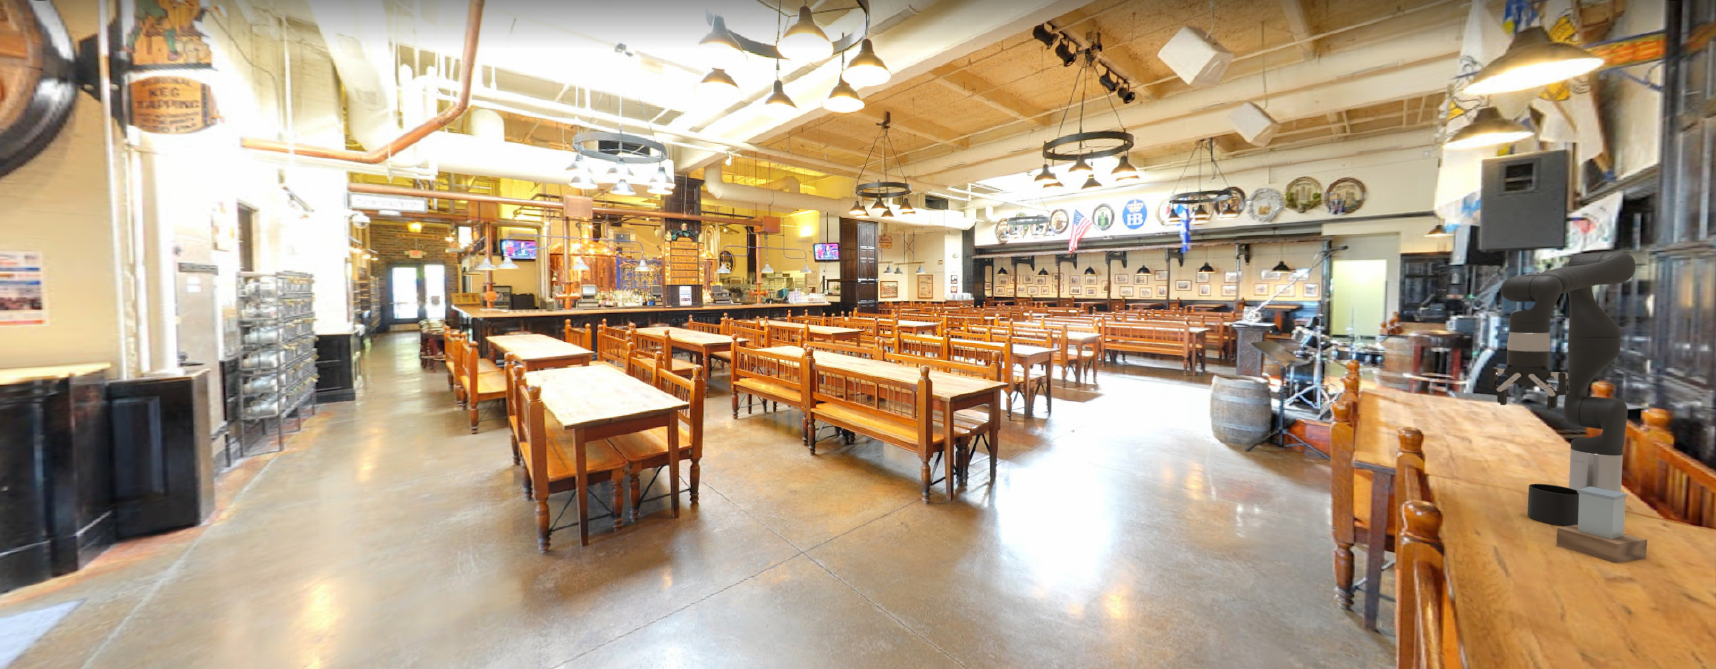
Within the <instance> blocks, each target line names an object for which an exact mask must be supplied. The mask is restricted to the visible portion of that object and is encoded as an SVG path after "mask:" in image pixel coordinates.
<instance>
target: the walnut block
mask: <svg viewBox="0 0 1716 669" xmlns="http://www.w3.org/2000/svg"><path fill="white" fill-rule="evenodd" d="M1647 545H1648V539H1646V538H1643V537H1639V536H1636V535H1632V534H1628V533H1624V536H1621V537H1618V538H1615V539H1608V538H1604V537H1600V536H1596V535H1592V534H1588V533H1584V532H1580V531H1578V525H1572V526H1561V527H1560V526H1558V527H1557V528H1556V546H1558V547H1561V548H1565V549H1567V550H1572V551H1574V552H1578V553H1580V554H1584V555H1586V556H1590V557H1593V558H1596V559H1600V560H1604V561H1607V562H1611V563H1614V564H1619V563H1624V562H1632V561H1638V560H1643V559H1647V548H1648V546H1647Z"/></svg>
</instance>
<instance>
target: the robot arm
mask: <svg viewBox="0 0 1716 669" xmlns="http://www.w3.org/2000/svg"><path fill="white" fill-rule="evenodd" d="M1635 271H1636V262H1635V258H1634V257H1633V256H1632V255H1631V254H1629V253H1626V252H1622V251H1621V252H1620V251H1608V252H1607V251H1606V252H1591V253H1587V252H1586V253H1577V254H1574V255H1572V256H1571V257H1570V259H1569V261H1568V262H1567V266H1563V267H1557V268H1553V269H1549V270H1546V271H1543V272H1538V273H1530V274H1522V275H1516V276H1512V277H1510V278H1508V279H1506V280H1505V281H1504V282H1502V285H1501V286H1500V294H1501V296H1502V297H1503V298H1504V299H1505V300H1507V301H1510V302H1516V303H1532V302H1533V303H1534V304H1533V306H1532V307H1531V308H1529V309H1525V310H1524V309H1523V310H1517V311H1514V312H1512V313H1511V314H1510V317H1509V334H1508V339H1507V344H1506V349H1507V350H1506V351H1507V352H1506V353H1507V354H1506V367H1505V368H1499V367H1496V366H1495V367H1491V368H1489V373H1488V379H1487V388H1488V389H1490V390H1494V391H1496V392H1497V394H1496V397H1497V398H1496V401H1497V403H1499V404H1500V406H1507V404H1508V391H1507V390H1508V389H1509V388H1511V387H1512V386H1513V385H1517V386H1528V387H1529V386H1530V387H1536V386H1537V387H1539V388H1540V389H1541V390H1543V391H1544V392H1545V393H1546V394H1547V400H1546V411H1547V410H1548V411H1553V410H1554V409H1556V408H1557V407H1558V401H1559V400H1558V399H1559V398H1558V397H1559V396H1564V402H1563V417H1564V418H1563V419H1564V421H1565V422H1566V423H1567V424H1568V425H1571V426H1575V427H1576V426H1577V427H1583V428H1591V429H1597V430H1602V431H1601V434H1600V435H1599V434H1598V435H1596V436H1589V437H1578V438H1573V439H1572V440H1571V442H1570V455H1569V475H1568V476H1569V478H1568V480H1569V481H1568V488H1571V489H1574V490H1579V489H1582V488H1586V487H1596V488H1601V489H1606V490H1611V491H1616V492H1622V476H1623V474H1622V473H1623V457H1624V455H1623V454H1624V446H1625V440H1626V437H1625V436H1626V430H1627V429H1626V428H1627V421H1628V415H1629V412H1628V407H1627V404H1626V402H1625V401H1624V400H1622V399H1618V398H1610V397H1602V396H1601V397H1599V396H1590V395H1588V388H1589V387H1590V384H1591V382H1592V381H1593V380H1594V379H1595V378H1596V377H1597V375H1599V374H1600V372H1602V371H1603V370H1605V368H1607V367H1608V366H1609V365H1611V364H1612V363H1613V362H1614V361H1615V360H1616V359H1617V357H1618V356H1619V354H1620V353H1621V340H1622V338H1621V337H1622V336H1621V335H1622V333H1621V329H1620V327H1619V326H1618V324H1617V323H1616V322H1615V321H1614V320H1613V318H1612V317H1610V315H1608V313H1606V312H1605V311H1604V310H1603V309H1602V307H1600V305H1599V303H1598V302H1597V301H1596V299H1595V296H1594V293H1593V289H1592V287H1593V286H1601V285H1602V286H1604V285H1605V286H1609V285H1617V284H1623V283H1626V282H1627V281H1629V280H1631V278H1632V277H1633V276H1634V275H1635ZM1566 293H1568V301H1569V322H1568V333H1567V354H1568V355H1567V358H1568V359H1567V361H1568V363H1567V364H1568V366H1567V367H1568V368H1567V369H1568V370H1567V371H1562V372H1561V371H1560V372H1557V371H1556V372H1555V371H1551V369H1550V366H1551V365H1550V364H1551V363H1550V362H1551V345H1552V344H1551V336H1550V334H1551V333H1550V326H1551V317H1552V314H1553V311H1554V309H1555V306H1556V304H1557V303H1558V300H1559V298H1560V297H1561V294H1562V295H1563V294H1566ZM1502 374H1504V375H1505V376H1506V377H1508V379H1507V380H1505V381H1504V382H1503V383H1501V385H1498V380H1499V376H1501V375H1502ZM1551 377H1553V378H1554V380H1556V381H1558V390H1556V388H1554V387H1553V386H1552V384H1551V383H1550V382H1549V381H1548V379H1550V378H1551Z"/></svg>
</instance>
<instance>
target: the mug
mask: <svg viewBox="0 0 1716 669" xmlns="http://www.w3.org/2000/svg"><path fill="white" fill-rule="evenodd" d="M1527 494H1528V496H1527V497H1528V498H1527V517H1529V518H1531V519H1533V520H1535V521H1537V522H1542V523H1545V524H1549V525H1554V526H1559V527H1560V526H1561V527H1565V526H1572V525H1578V513H1579V493H1577V490H1574V489H1571V488H1569V487H1566V486H1561V485H1556V484H1549V483H1547V484H1546V483H1530V484H1529V485H1528V492H1527Z"/></svg>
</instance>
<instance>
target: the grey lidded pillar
mask: <svg viewBox="0 0 1716 669" xmlns="http://www.w3.org/2000/svg"><path fill="white" fill-rule="evenodd" d="M1577 493H1579V513H1578V531H1580V532H1584V533H1588V534H1592V535H1596V536H1600V537H1604V538H1608V539H1615V538H1618V537H1621V536H1624V534H1625V518H1626V517H1625V516H1626V515H1625V513H1626V498H1627V497H1628V493H1626V492H1622V491H1621V492H1616V491H1611V490H1606V489H1601V488H1596V487H1586V488H1582V489H1579V490H1577Z"/></svg>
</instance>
